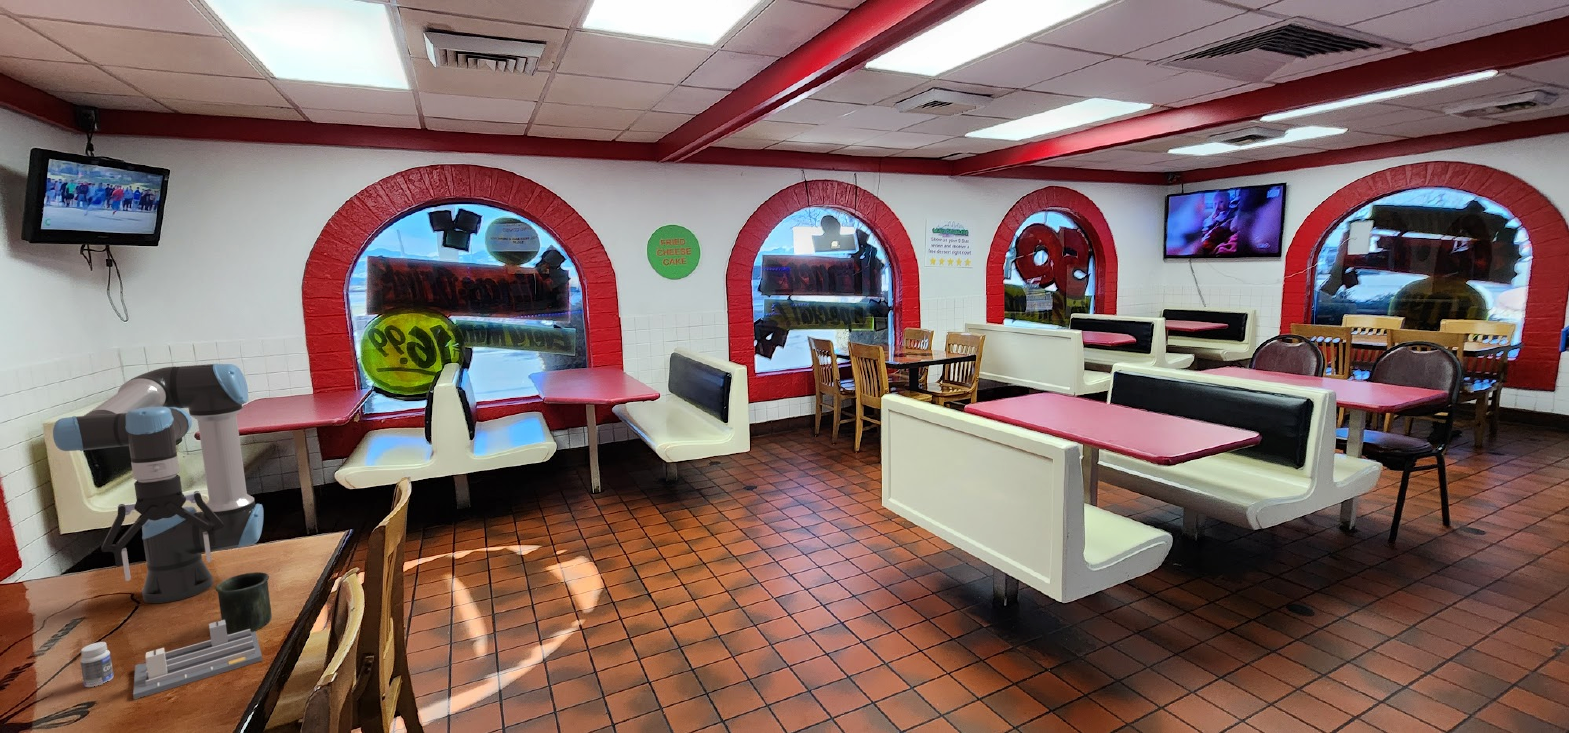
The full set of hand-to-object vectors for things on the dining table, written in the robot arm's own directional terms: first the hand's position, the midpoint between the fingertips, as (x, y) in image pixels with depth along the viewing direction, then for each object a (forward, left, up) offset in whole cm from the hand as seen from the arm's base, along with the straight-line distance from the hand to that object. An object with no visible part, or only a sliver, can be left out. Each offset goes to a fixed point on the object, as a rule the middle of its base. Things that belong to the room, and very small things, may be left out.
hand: (169, 569), depth 154 cm
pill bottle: (-7, -14, -25) cm, 29 cm away
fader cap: (+3, -4, -23) cm, 23 cm away
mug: (-17, +13, -25) cm, 32 cm away
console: (0, +3, -24) cm, 24 cm away
